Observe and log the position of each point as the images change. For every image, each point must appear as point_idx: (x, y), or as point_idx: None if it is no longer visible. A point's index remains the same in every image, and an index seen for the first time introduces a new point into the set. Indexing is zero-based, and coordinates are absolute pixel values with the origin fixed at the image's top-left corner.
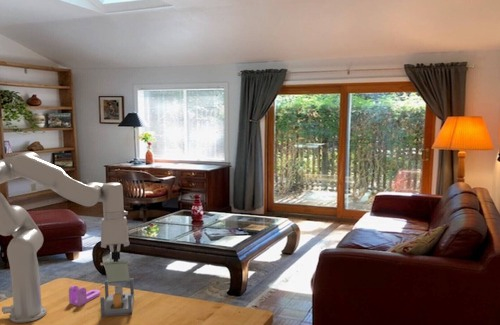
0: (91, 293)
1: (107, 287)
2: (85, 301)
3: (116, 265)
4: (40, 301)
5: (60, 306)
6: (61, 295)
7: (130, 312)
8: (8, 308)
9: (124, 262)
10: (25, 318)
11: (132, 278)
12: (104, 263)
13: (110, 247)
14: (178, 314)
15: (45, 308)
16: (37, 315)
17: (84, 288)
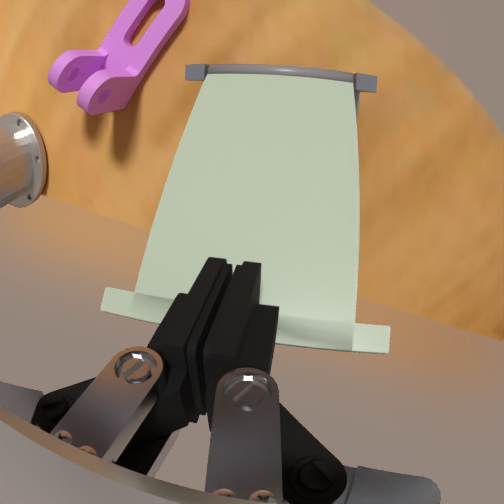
0: (151, 2)
1: None
2: (137, 82)
3: None
4: (9, 174)
5: (67, 104)
6: (57, 14)
7: None
8: None
9: (325, 346)
10: (19, 198)
11: (372, 77)
12: (135, 318)
13: (123, 462)
14: (471, 294)
15: (35, 140)
16: (34, 186)
17: (101, 85)
